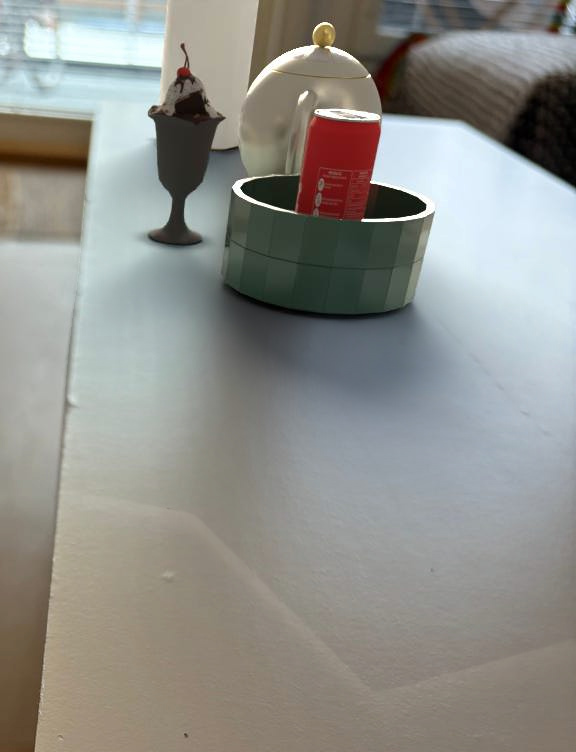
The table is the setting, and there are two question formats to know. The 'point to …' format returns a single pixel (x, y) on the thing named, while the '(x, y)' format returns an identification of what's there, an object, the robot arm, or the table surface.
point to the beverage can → (338, 163)
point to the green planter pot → (325, 248)
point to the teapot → (299, 102)
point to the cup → (212, 55)
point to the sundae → (183, 148)
